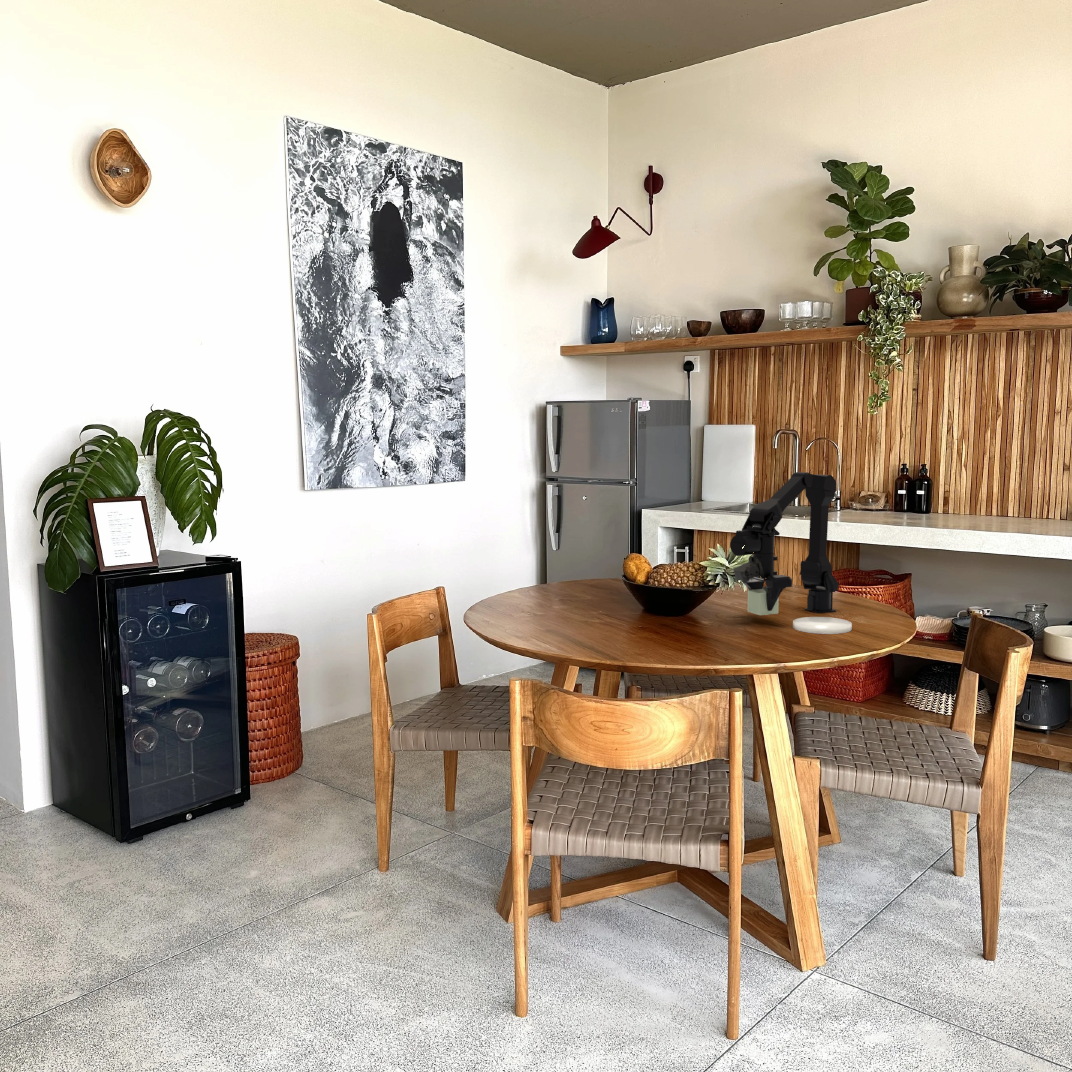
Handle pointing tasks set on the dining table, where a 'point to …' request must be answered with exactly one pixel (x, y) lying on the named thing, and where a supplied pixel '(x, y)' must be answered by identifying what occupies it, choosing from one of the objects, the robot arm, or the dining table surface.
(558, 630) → the dining table surface
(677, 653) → the dining table surface
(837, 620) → the plate
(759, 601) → the sage cube
